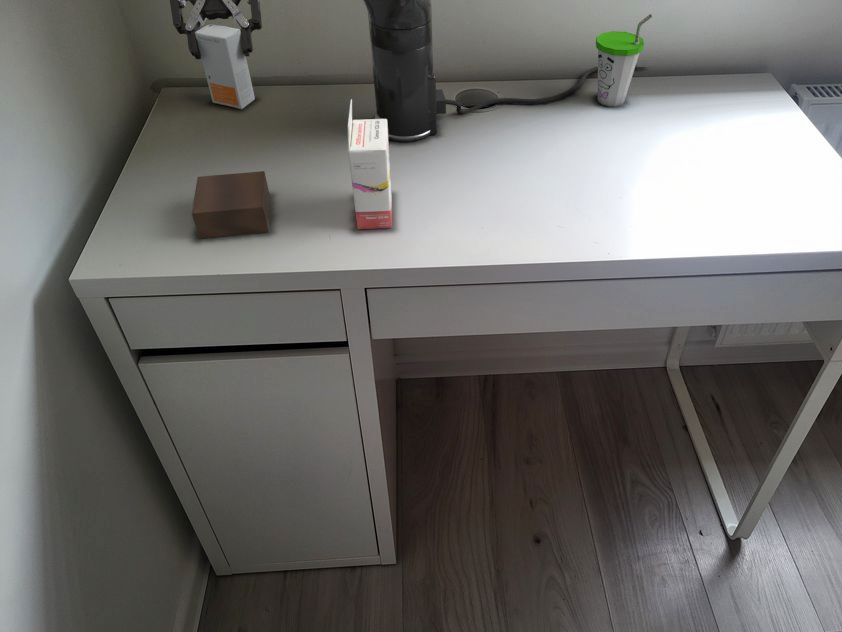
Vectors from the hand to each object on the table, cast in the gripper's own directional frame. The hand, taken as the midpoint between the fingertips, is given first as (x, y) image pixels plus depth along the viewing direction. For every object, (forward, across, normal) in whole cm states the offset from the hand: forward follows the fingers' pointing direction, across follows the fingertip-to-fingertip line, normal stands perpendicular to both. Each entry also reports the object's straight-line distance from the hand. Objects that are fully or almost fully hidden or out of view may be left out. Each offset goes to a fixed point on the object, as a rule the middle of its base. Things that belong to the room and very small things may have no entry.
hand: (222, 55), depth 114 cm
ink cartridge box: (+31, +21, -19) cm, 42 cm away
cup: (+12, +64, 0) cm, 65 cm away
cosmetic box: (+5, 0, +7) cm, 9 cm away
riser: (+30, +2, -18) cm, 35 cm away
